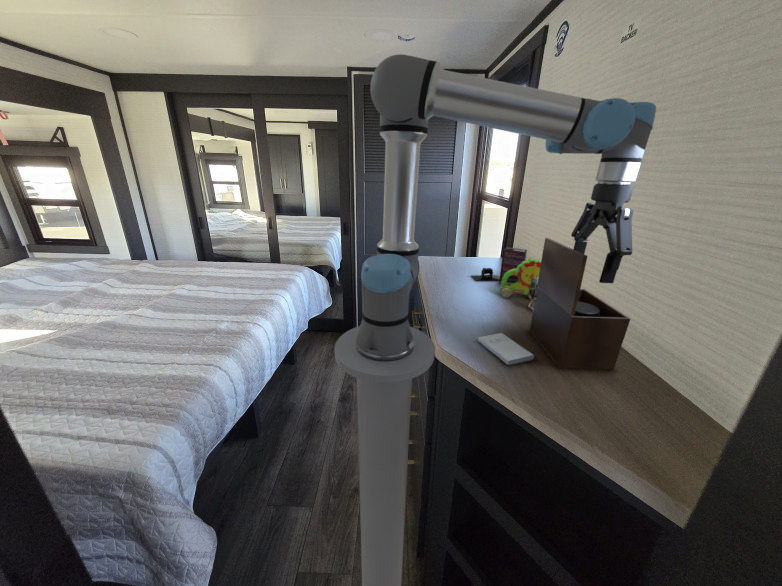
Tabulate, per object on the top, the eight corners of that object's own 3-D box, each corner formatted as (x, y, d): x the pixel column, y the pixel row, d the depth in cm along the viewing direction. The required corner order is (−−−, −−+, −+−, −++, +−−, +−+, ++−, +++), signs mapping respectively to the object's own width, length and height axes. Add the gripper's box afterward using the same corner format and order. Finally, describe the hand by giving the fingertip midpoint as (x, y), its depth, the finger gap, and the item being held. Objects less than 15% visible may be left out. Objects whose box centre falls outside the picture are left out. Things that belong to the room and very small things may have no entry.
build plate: (496, 276, 145) (498, 266, 143) (503, 281, 138) (504, 271, 136) (470, 276, 144) (471, 266, 142) (475, 281, 137) (477, 271, 135)
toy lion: (500, 298, 119) (507, 259, 114) (498, 292, 124) (504, 255, 119) (544, 301, 117) (553, 262, 111) (540, 296, 122) (548, 258, 116)
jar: (588, 359, 80) (600, 317, 75) (553, 349, 84) (563, 309, 79) (588, 344, 87) (600, 304, 82) (556, 336, 91) (565, 298, 86)
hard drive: (507, 366, 77) (477, 341, 88) (533, 360, 80) (501, 337, 91) (508, 360, 77) (478, 336, 88) (534, 354, 79) (502, 332, 90)
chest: (573, 332, 94) (584, 289, 89) (613, 370, 76) (630, 318, 71) (529, 331, 95) (538, 287, 89) (559, 368, 77) (572, 317, 72)
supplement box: (521, 286, 132) (527, 249, 126) (519, 289, 128) (525, 251, 123) (500, 282, 136) (505, 246, 131) (497, 285, 132) (503, 248, 127)
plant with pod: (518, 306, 112) (528, 252, 105) (546, 304, 114) (558, 251, 107) (531, 315, 105) (542, 258, 97) (561, 314, 107) (575, 257, 99)
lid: (548, 237, 84) (545, 237, 84) (587, 255, 66) (583, 255, 66) (539, 286, 89) (537, 286, 89) (574, 315, 71) (571, 315, 71)
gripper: (677, 186, 58) (640, 292, 66) (598, 181, 81) (578, 260, 89) (636, 185, 58) (604, 290, 66) (569, 181, 81) (551, 259, 89)
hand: (589, 273), depth 78 cm, fingers open, 13 cm apart
